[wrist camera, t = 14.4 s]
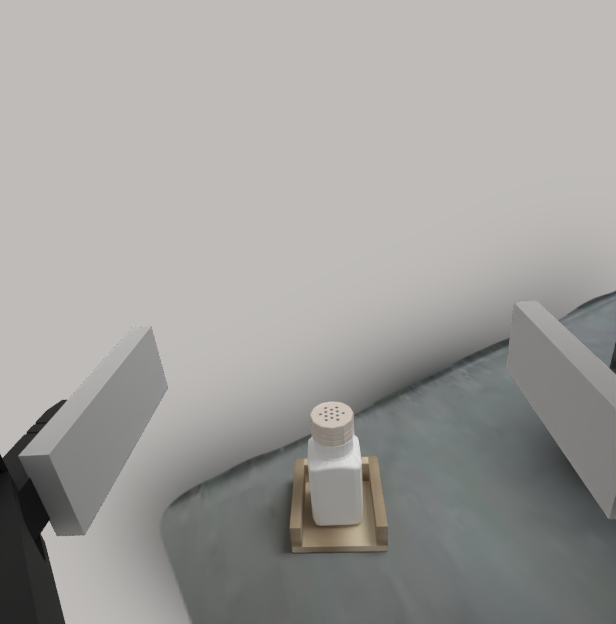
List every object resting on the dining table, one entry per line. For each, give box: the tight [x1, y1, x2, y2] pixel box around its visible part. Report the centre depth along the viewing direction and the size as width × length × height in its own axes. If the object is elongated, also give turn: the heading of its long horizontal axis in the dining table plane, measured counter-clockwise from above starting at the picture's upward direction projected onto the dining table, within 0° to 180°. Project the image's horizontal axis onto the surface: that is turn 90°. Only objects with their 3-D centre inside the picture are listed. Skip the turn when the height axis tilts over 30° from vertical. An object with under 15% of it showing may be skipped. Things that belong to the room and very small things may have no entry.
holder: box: [290, 457, 388, 553], centre depth 36 cm, size 7×7×3 cm
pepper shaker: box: [308, 402, 363, 526], centre depth 34 cm, size 4×4×10 cm
